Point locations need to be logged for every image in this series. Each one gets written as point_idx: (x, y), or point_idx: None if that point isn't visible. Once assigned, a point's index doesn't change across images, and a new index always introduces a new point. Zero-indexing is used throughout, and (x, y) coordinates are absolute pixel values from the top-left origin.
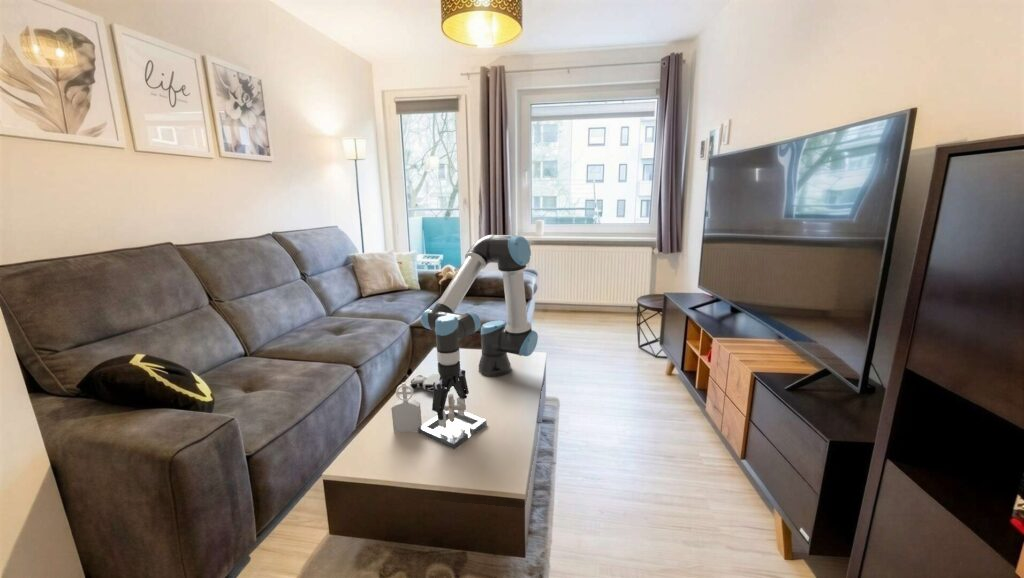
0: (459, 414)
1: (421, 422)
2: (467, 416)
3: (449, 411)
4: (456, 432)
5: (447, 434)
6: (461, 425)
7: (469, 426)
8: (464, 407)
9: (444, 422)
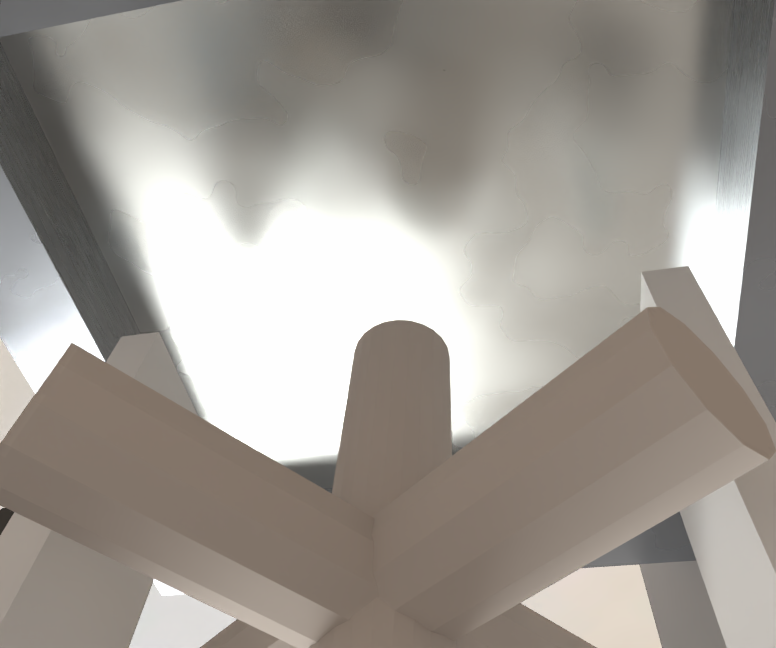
0: (191, 407)
1: (654, 594)
2: (77, 308)
3: (630, 538)
4: (445, 141)
5: (583, 206)
6: (259, 236)
7: (164, 115)
8: (75, 410)
9: (735, 356)
